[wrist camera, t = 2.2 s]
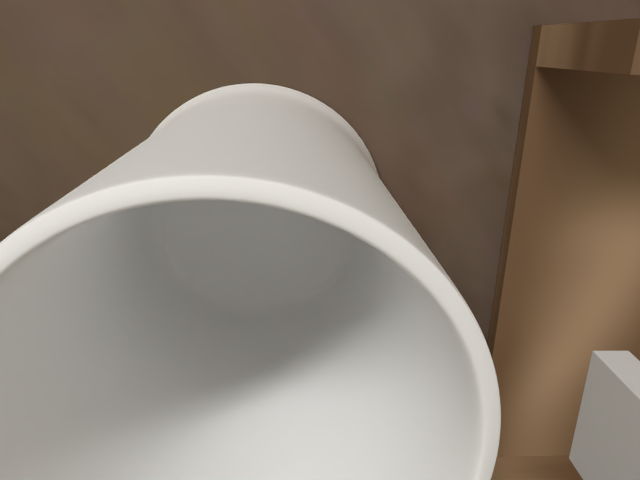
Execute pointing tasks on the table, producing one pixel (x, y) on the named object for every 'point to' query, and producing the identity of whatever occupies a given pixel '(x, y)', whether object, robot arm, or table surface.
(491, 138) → the table surface
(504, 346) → the keeper cradle
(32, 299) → the mug
